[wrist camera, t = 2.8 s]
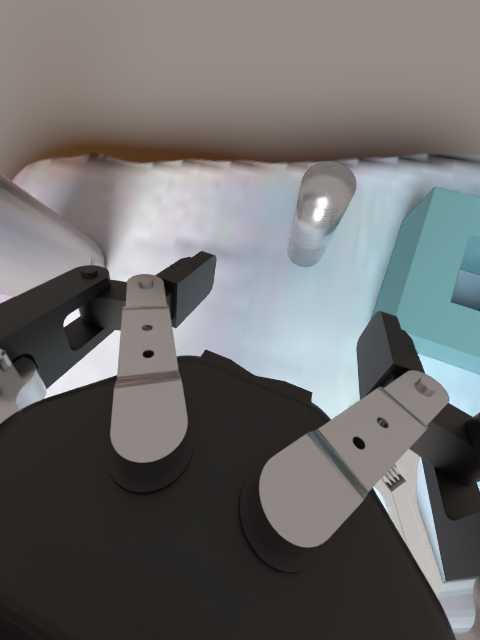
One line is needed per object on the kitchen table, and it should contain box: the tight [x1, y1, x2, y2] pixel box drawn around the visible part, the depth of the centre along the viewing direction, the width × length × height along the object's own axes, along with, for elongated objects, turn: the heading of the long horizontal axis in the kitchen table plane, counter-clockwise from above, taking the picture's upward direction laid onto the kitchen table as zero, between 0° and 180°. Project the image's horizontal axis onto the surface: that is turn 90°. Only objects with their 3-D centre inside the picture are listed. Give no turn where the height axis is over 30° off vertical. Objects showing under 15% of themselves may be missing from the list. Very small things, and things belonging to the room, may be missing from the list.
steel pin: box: [288, 161, 356, 267], centre depth 21 cm, size 4×4×10 cm
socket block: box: [371, 187, 480, 374], centre depth 21 cm, size 13×13×5 cm
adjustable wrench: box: [374, 449, 443, 598], centre depth 20 cm, size 25×6×2 cm, turn 8°
